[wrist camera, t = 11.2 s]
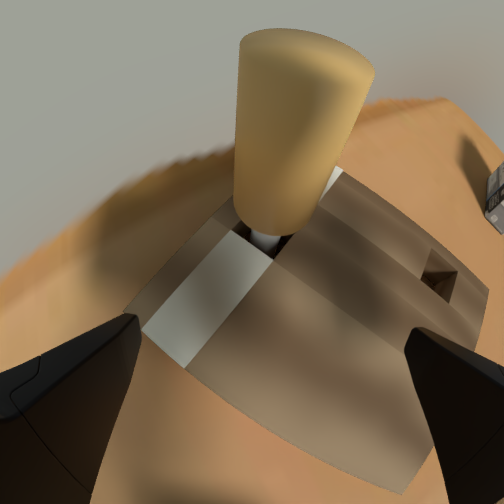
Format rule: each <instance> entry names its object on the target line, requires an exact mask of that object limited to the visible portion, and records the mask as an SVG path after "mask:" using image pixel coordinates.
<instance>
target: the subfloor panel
mask: <svg viewBox="0 0 504 504" xmlns="http://www.w3.org/2000/svg"><path fill="white" fill-rule="evenodd" d="M250 230H251V228H250V227H248V226H247V225H246V224H245V223H244V222H243V221H242V220H241V219H240V218H239V216H238V214H237V213H236V210H235V208H234V203H233V196H232V197H231V198H230V199H229V200H228V201H226V202H225V203H224V204H223V205H222V206H221V207H220V208H219V209H218V210H217V211H216V212H215V213H214V214H213V215H212V216H211V217H210V218H209V219H208V220H207V221H206V222H205V223H204V224H203V225H202V226H201V227H200V228H199V230H198V231H197V232H196V233H195V234H194V235H193V236H192V237H191V238H190V239H189V240H188V241H187V242H186V243H185V244H184V245H183V246H182V247H181V248H180V249H179V250H178V251H177V252H176V253H175V254H174V256H173V257H172V258H171V259H170V260H169V261H168V262H167V263H166V264H165V265H164V266H163V267H162V268H161V269H160V270H159V272H158V273H157V274H156V275H155V276H154V277H153V278H152V279H151V280H150V281H149V283H148V284H147V285H146V286H145V287H144V288H143V289H142V290H141V291H140V292H139V294H138V295H137V296H136V297H135V298H134V299H133V300H132V302H131V303H130V304H129V305H128V306H127V307H126V308H125V309H124V311H123V312H124V313H130V314H136V315H137V316H138V318H139V322H140V329H141V330H142V331H143V332H144V333H145V334H146V335H147V336H148V337H149V338H150V339H151V340H152V341H153V342H154V343H155V344H156V345H158V346H159V347H160V348H161V349H162V350H163V351H164V352H165V353H166V354H168V355H169V356H170V357H171V358H172V359H173V360H174V361H176V362H177V363H178V364H179V365H180V366H182V367H183V368H184V369H185V370H187V371H188V372H189V373H190V374H191V375H193V376H194V377H195V378H196V379H198V380H199V381H200V382H201V383H203V384H204V385H205V386H206V387H208V388H209V389H210V390H212V391H213V392H214V393H216V394H217V395H218V396H220V397H221V398H222V399H224V400H225V401H226V402H228V403H229V404H231V405H232V406H233V407H235V408H236V409H238V410H239V411H240V412H242V413H243V414H245V415H246V416H248V417H249V418H251V419H252V420H254V421H255V422H257V423H258V424H260V425H261V426H263V427H264V428H266V429H267V430H269V431H271V432H272V433H274V434H275V435H277V436H279V437H280V438H282V439H284V440H285V441H287V442H289V443H290V444H292V445H294V446H296V447H297V448H299V449H301V450H303V451H304V452H306V453H308V454H310V455H312V456H314V457H315V458H317V459H319V460H321V461H323V462H325V463H327V464H329V465H331V466H333V467H335V468H337V469H339V470H341V471H343V472H346V473H348V474H350V475H352V476H354V477H357V478H359V479H361V480H364V481H366V482H368V483H371V484H373V485H376V486H378V487H381V488H383V489H386V490H389V491H391V492H394V493H397V494H400V495H402V494H403V492H404V491H405V490H406V488H407V487H408V486H409V484H410V483H411V481H412V480H413V478H414V477H415V475H416V474H417V472H418V471H419V469H420V468H421V466H422V465H423V463H424V461H425V460H426V458H427V456H428V455H429V453H430V451H431V450H432V448H433V446H434V442H433V439H432V436H431V433H430V430H429V427H428V424H427V421H426V418H425V415H424V413H423V410H422V407H421V404H420V401H419V399H418V396H417V394H416V391H415V388H414V385H413V381H412V378H411V374H410V371H409V367H408V364H407V361H406V357H405V354H404V346H405V344H406V342H407V339H408V337H409V334H410V332H411V330H412V329H413V328H414V327H425V328H427V329H429V330H431V331H433V332H435V333H437V334H439V335H441V336H443V337H445V338H447V339H449V340H451V341H453V342H455V343H457V344H459V345H461V346H463V347H465V348H467V349H469V350H471V351H473V352H474V351H475V347H476V344H477V341H478V337H479V333H480V330H481V326H482V322H483V318H484V313H485V309H486V304H487V299H488V294H489V289H488V288H487V287H486V286H485V285H484V284H483V283H482V282H481V281H480V280H479V279H478V278H477V277H476V276H475V275H474V274H473V273H472V272H471V271H470V270H469V269H468V268H467V267H466V266H465V265H464V264H463V263H462V262H461V261H459V260H458V259H457V258H456V257H455V256H454V255H453V254H452V253H451V252H450V251H448V250H447V249H446V248H445V247H444V246H443V245H442V244H440V243H439V242H438V241H437V240H436V239H435V238H433V237H432V236H431V235H430V234H429V233H427V232H426V231H425V230H424V229H422V228H421V227H420V226H419V225H417V224H416V223H415V222H414V221H412V220H411V219H410V218H409V217H407V216H406V215H405V214H403V213H402V212H401V211H399V210H398V209H397V208H395V207H394V206H393V205H391V204H390V203H389V202H387V201H386V200H385V199H383V198H382V197H380V196H379V195H378V194H376V193H375V192H373V191H372V190H370V189H369V188H368V187H366V186H365V185H363V184H362V183H360V182H359V181H357V180H356V179H354V178H353V177H351V176H350V175H348V174H347V173H345V172H343V170H342V169H341V168H339V167H337V166H335V168H334V170H333V172H332V175H331V177H330V179H329V181H328V183H327V185H326V187H325V190H324V192H323V194H322V196H321V198H320V200H319V202H318V204H317V206H316V208H315V210H314V213H313V215H312V217H311V219H310V220H309V222H308V223H307V224H306V225H305V227H303V228H302V229H301V230H299V231H297V232H295V233H293V234H290V235H285V236H281V237H280V239H281V240H283V241H284V242H286V243H287V244H286V245H285V246H284V248H283V249H282V250H281V251H280V253H279V254H278V255H277V256H276V258H275V259H274V260H273V259H271V258H270V257H268V256H267V255H266V254H264V253H263V252H261V251H260V250H259V249H257V248H256V247H254V246H253V245H252V244H250V243H249V242H247V241H246V240H245V239H243V238H244V237H245V236H246V235H247V234H248V232H249V231H250ZM422 274H423V275H424V276H425V277H427V278H428V279H429V280H430V281H431V282H433V283H434V284H435V288H434V291H433V290H432V289H431V288H429V287H428V286H427V285H426V284H425V283H423V282H422V281H421V280H420V279H421V276H422Z"/></svg>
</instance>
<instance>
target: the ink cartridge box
mask: <svg viewBox="0 0 504 504" xmlns="http://www.w3.org/2000/svg"><path fill="white" fill-rule="evenodd" d="M485 218H486V219H487V220H488V221H489V222H490V223H491V225H492V226H493V227H494V228H495V229H496V230H497V231H498V232H499V233H500V234H501V235H502V234H504V161H503V162H502V164H501V165H500V166H499V167H498V168H497V169H496V170H495V171H494V173H493V174H492V175H491V176H490V177H489V178H488V179H487V198H486V210H485Z"/></svg>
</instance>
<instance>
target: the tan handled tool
mask: <svg viewBox="0 0 504 504" xmlns="http://www.w3.org/2000/svg"><path fill="white" fill-rule="evenodd" d="M374 76H375V71H374V68H373V66H372V64H371V63H370V62H369V61H368V60H367V59H366V58H365V57H364V56H363V55H362V54H360V53H359V52H358V51H356V50H355V49H353V48H351V47H350V46H348V45H346V44H344V43H342V42H340V41H337V40H335V39H332V38H330V37H327V36H324V35H321V34H317V33H313V32H308V31H303V30H297V29H282V28H276V29H264V30H259V31H256V32H253V33H250V34H248V35H246V36H245V37H243V39H242V40H241V42H240V51H239V67H238V87H237V88H238V89H237V108H236V132H235V159H234V192H233V203H234V208H235V210H236V213H237V214H238V216H239V218H240V219H241V220H242V221H243V222H244V223H245V224H246V225H247V226H248V227H250V228H251V235H250V242H249V243H250V244H252V245H253V246H254V247H256V248H257V249H259V250H260V251H261V252H263V253H264V254H266V255H267V256H268V257H270V258H271V259H272V258H273V256H274V254H275V251H276V249H277V246H278V243H279V240H280V237H281V236H285V235H290V234H293V233H295V232H297V231H299V230H301V229H302V228H303V227H305V225H306V224H307V223H308V222H309V220H310V219H311V217H312V215H313V213H314V210H315V208H316V206H317V204H318V202H319V200H320V198H321V196H322V194H323V192H324V190H325V187H326V185H327V183H328V181H329V179H330V177H331V175H332V172H333V170H334V168H335V166H336V164H337V162H338V159H339V157H340V155H341V153H342V151H343V148H344V146H345V144H346V142H347V139H348V137H349V135H350V133H351V130H352V128H353V126H354V124H355V121H356V119H357V117H358V114H359V112H360V110H361V107H362V105H363V103H364V100H365V98H366V96H367V93H368V91H369V88H370V86H371V84H372V81H373V79H374Z"/></svg>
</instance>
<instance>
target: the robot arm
mask: <svg viewBox="0 0 504 504" xmlns="http://www.w3.org/2000/svg"><path fill="white" fill-rule="evenodd" d="M141 340H142V337H141V330H140V322H139V318H138V316H137V315H136V314H130V313H124V314H122V315H120V316H118V317H116V318H114V319H112V320H110V321H108V322H106V323H104V324H102V325H100V326H98V327H96V328H94V329H92V330H90V331H88V332H85V333H83V334H81V335H79V336H77V337H75V338H73V339H71V340H69V341H67V342H65V343H63V344H61V345H59V346H57V347H55V348H53V349H51V350H49V351H47V352H45V353H43V354H41V356H37V357H35V358H33V359H31V360H29V361H27V362H25V363H23V364H20V365H18V366H16V367H14V368H11V369H9V370H6V371H4V372H1V373H0V504H89V503H90V500H91V496H92V495H91V494H92V492H93V489H94V485H95V482H96V479H97V476H98V472H99V469H100V466H101V463H102V460H103V457H104V454H105V451H106V448H107V445H108V442H109V439H110V436H111V433H112V430H113V428H114V425H115V422H116V419H117V417H118V414H119V411H120V409H121V406H122V403H123V401H124V398H125V395H126V393H127V390H128V388H129V385H130V382H131V378H132V375H133V371H134V367H135V363H136V360H137V356H138V352H139V349H140V345H141ZM404 354H405V357H406V361H407V364H408V367H409V371H410V374H411V378H412V381H413V385H414V388H415V391H416V394H417V396H418V399H419V401H420V404H421V407H422V410H423V413H424V415H425V418H426V421H427V424H428V427H429V430H430V433H431V436H432V439H433V442H434V446H435V449H436V452H437V456H438V459H439V463H440V466H441V470H442V474H443V478H444V481H445V487H446V491H447V495H448V500H449V504H504V367H503V366H501V365H499V364H497V363H495V362H493V361H491V360H489V359H487V358H485V357H483V356H481V355H479V354H477V353H475V352H473V351H471V350H469V349H467V348H465V347H463V346H461V345H459V344H457V343H455V342H453V341H451V340H449V339H447V338H445V337H443V336H441V335H439V334H437V333H435V332H433V331H431V330H429V329H427V328H425V327H414V328H413V329H412V330H411V332H410V334H409V337H408V339H407V342H406V344H405V346H404Z"/></svg>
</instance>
